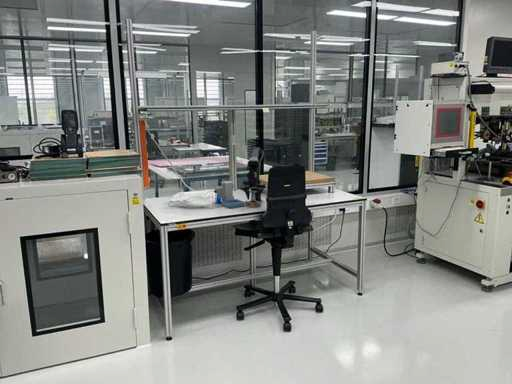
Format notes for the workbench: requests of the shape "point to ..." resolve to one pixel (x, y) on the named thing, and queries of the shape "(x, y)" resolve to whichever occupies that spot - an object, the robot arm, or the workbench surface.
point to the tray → (233, 203)
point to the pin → (253, 196)
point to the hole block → (252, 204)
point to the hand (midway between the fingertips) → (253, 198)
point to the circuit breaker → (225, 190)
